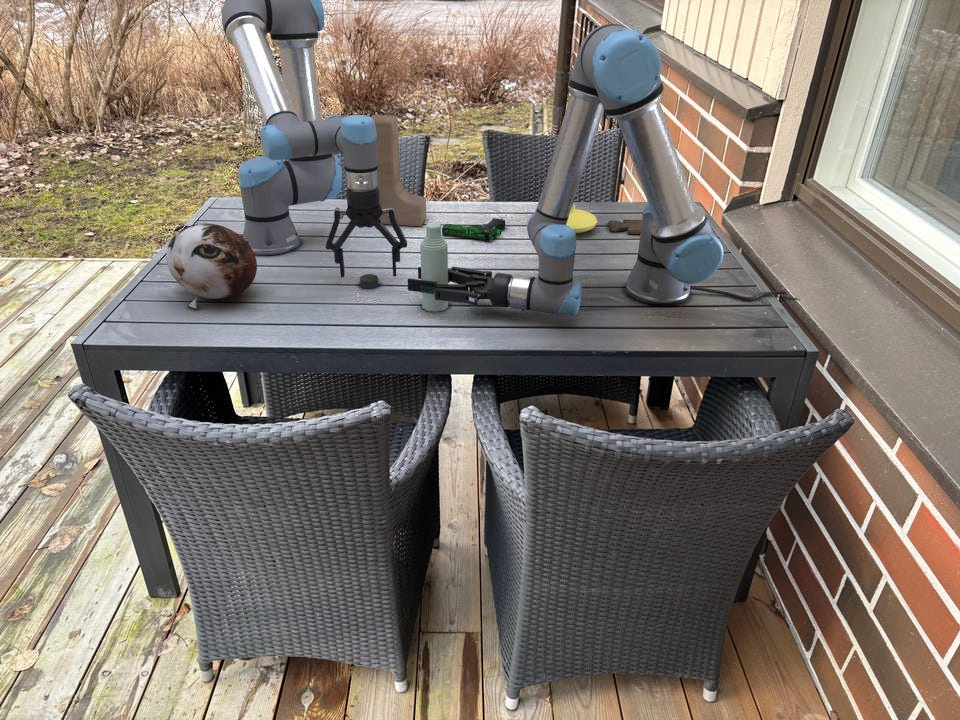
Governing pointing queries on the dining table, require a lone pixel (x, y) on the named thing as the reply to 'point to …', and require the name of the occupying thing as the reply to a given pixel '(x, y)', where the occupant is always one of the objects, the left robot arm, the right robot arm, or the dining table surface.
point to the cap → (369, 281)
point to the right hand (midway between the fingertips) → (413, 278)
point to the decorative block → (395, 176)
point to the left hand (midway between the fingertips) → (368, 274)
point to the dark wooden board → (626, 226)
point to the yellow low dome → (581, 220)
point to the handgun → (476, 230)
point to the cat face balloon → (211, 261)
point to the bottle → (434, 264)
